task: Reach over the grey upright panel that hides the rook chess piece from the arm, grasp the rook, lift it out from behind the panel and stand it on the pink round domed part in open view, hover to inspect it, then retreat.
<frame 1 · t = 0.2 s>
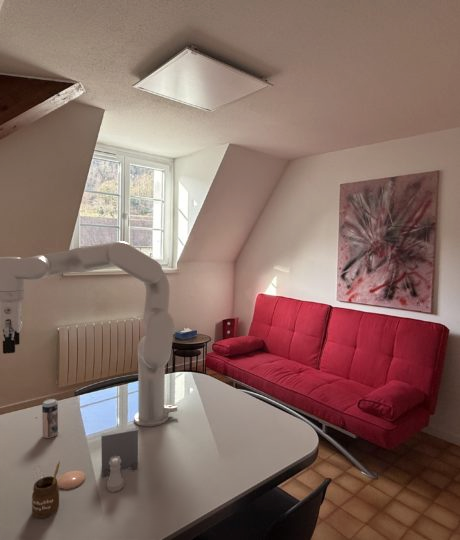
hand: (11, 348, 117), 31 cm above the table, fingers open, 9 cm apart
grey upright panel: (120, 468, 106), on the table
utensil holder: (46, 510, 89), on the table
beer can: (50, 436, 124), on the table
rook chess piece: (115, 487, 98), on the table
pink round domed part: (71, 480, 100), on the table
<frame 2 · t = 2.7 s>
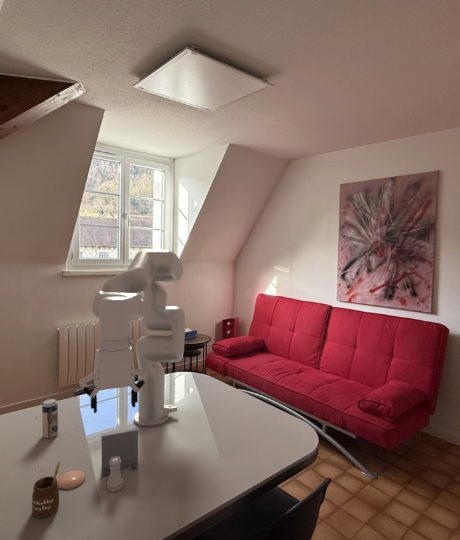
hand: (114, 407, 96), 22 cm above the table, fingers open, 9 cm apart
nothing on the table moved.
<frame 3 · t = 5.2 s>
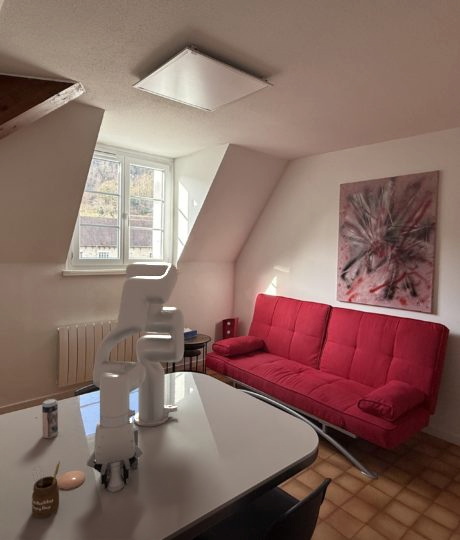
hand: (115, 482, 98), 1 cm above the table, fingers closed on rook chess piece, 4 cm apart
rook chess piece: (115, 487, 98), on the table, touching gripper
everything else where it was.
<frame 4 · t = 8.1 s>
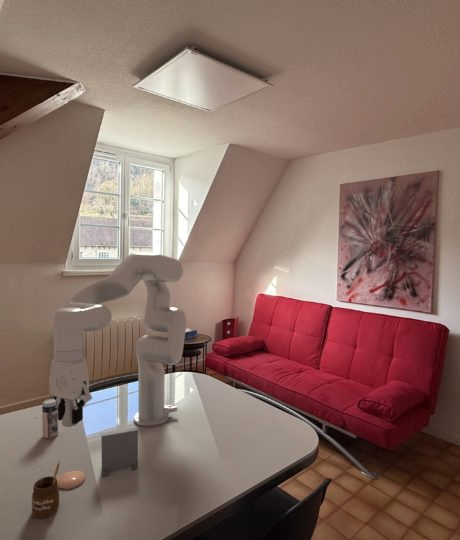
hand: (70, 419, 99), 17 cm above the table, fingers closed on rook chess piece, 4 cm apart
rook chess piece: (70, 424, 99), point 16 cm above the table, touching gripper
everything else where it was.
when the fingers open (3 cm above the table, at t = 10.9 s): rook chess piece drops 1 cm, resting on pink round domed part.
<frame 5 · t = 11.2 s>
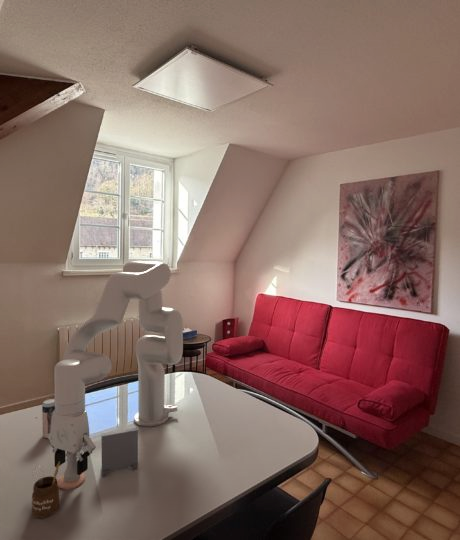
hand: (71, 467, 100), 4 cm above the table, fingers open, 7 cm apart
rook chess piece: (72, 478, 100), resting on pink round domed part
everything else where it was.
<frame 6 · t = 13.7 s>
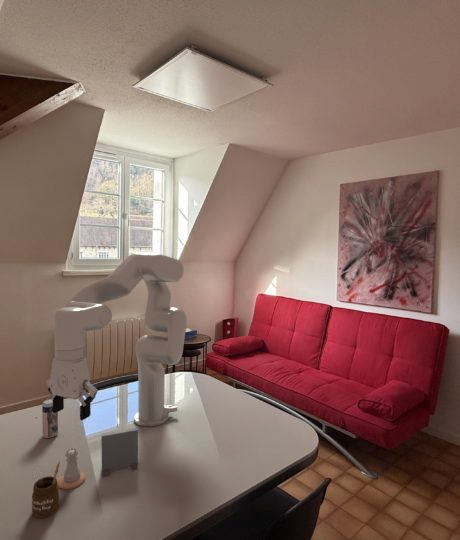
hand: (71, 414, 100), 18 cm above the table, fingers open, 9 cm apart
nothing on the table moved.
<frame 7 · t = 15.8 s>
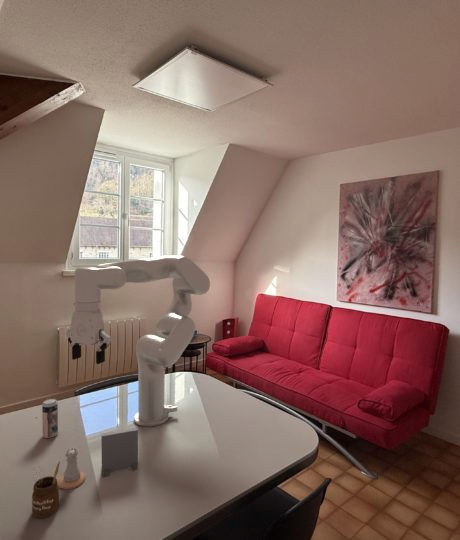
hand: (88, 360, 115), 28 cm above the table, fingers open, 9 cm apart
nothing on the table moved.
at the end: rook chess piece inside the target area on the pink round domed part (0.2 cm from its centre), point 0.4 cm above the pink round domed part's base; rook chess piece tilted 0°; the gripper is holding nothing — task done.
